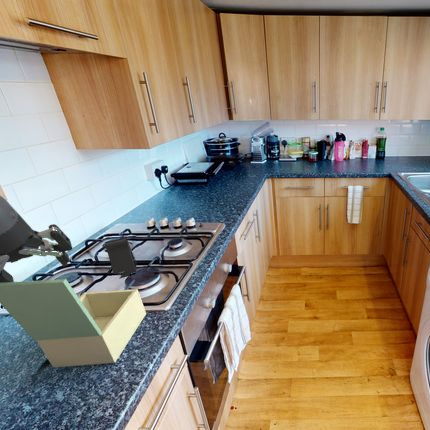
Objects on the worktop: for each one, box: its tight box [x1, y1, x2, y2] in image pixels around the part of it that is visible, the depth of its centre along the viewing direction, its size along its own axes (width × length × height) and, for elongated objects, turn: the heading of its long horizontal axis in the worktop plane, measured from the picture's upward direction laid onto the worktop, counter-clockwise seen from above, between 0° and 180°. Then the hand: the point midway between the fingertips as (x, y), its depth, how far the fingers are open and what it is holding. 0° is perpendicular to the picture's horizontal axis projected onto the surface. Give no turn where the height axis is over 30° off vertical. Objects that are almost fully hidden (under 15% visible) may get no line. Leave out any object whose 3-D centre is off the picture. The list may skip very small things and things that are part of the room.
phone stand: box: [104, 236, 137, 279], centre depth 97 cm, size 9×6×12 cm, turn 31°
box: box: [36, 288, 147, 369], centre depth 71 cm, size 16×14×9 cm
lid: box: [0, 278, 102, 341], centre depth 58 cm, size 16×14×1 cm
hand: (39, 271), depth 58 cm, fingers open, 8 cm apart
